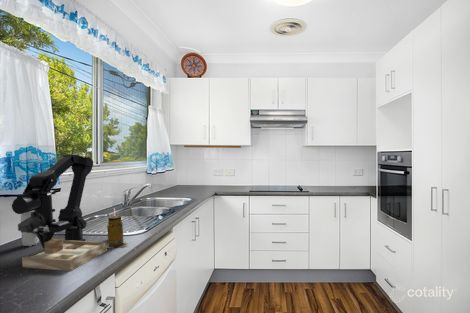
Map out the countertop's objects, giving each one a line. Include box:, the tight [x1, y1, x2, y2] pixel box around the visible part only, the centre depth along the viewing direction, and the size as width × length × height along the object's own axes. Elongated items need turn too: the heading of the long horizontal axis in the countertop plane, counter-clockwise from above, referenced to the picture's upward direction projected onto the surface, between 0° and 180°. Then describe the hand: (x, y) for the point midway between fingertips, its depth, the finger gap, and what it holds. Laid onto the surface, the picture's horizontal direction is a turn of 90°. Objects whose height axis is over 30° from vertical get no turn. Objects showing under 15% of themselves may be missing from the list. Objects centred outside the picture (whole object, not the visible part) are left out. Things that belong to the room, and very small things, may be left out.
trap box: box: [21, 239, 108, 272], centre depth 101 cm, size 18×20×4 cm
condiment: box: [106, 215, 131, 249], centre depth 114 cm, size 7×8×12 cm
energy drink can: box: [20, 211, 40, 247], centre depth 118 cm, size 6×6×15 cm
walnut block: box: [44, 238, 63, 253], centre depth 102 cm, size 4×4×4 cm
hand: (45, 248), depth 103 cm, fingers closed
